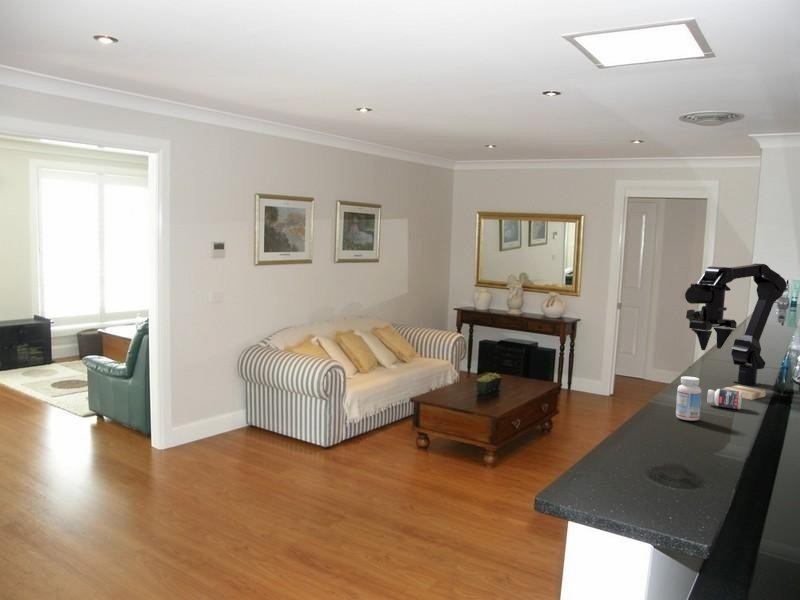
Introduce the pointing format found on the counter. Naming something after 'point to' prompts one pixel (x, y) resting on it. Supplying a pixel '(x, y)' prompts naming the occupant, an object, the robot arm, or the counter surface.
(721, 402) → the pill bottle
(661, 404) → the counter surface
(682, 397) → the pill bottle
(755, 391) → the maple block
